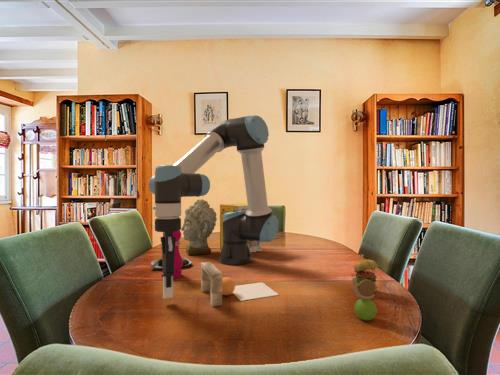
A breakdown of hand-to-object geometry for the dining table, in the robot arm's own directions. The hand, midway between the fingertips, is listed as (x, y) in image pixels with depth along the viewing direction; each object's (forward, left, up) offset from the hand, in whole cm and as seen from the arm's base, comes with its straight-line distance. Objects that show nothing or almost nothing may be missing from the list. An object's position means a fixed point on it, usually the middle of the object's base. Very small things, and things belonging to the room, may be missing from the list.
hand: (168, 296), depth 87 cm
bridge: (-13, 0, -2) cm, 13 cm away
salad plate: (-6, -43, -3) cm, 43 cm away
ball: (-18, 0, +1) cm, 18 cm away
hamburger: (-62, +14, -2) cm, 64 cm away
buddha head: (-23, -64, -2) cm, 68 cm away
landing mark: (-27, 0, -2) cm, 27 cm away
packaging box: (-45, -60, -2) cm, 75 cm away
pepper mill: (-5, -27, -2) cm, 28 cm away
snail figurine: (-46, +30, -2) cm, 55 cm away
